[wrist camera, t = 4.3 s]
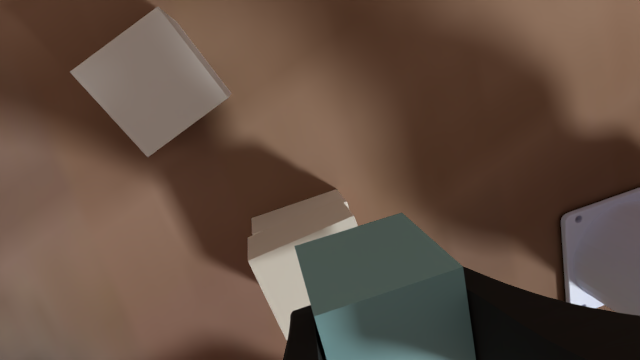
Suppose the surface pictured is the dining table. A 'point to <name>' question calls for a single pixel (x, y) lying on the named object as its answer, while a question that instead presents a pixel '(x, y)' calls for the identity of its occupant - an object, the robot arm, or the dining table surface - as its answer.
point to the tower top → (292, 256)
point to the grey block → (152, 81)
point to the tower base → (293, 211)
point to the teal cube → (387, 294)
